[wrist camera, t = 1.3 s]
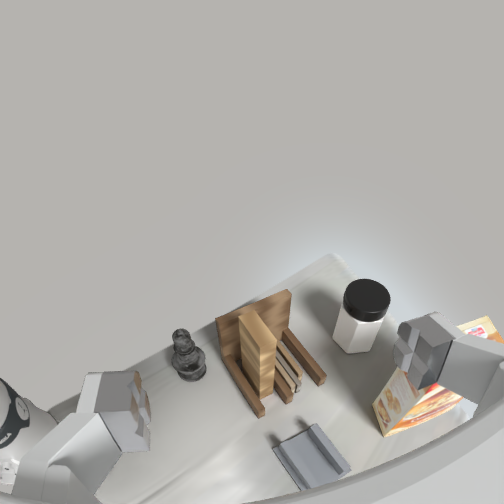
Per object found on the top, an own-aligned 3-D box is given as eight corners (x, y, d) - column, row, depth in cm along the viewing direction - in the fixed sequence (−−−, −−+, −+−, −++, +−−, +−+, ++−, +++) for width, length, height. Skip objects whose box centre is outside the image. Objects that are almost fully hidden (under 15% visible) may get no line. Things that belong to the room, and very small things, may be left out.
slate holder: (307, 498, 35) (310, 495, 33) (272, 449, 42) (273, 443, 40) (350, 470, 38) (356, 466, 36) (315, 425, 45) (319, 418, 43)
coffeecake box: (383, 438, 42) (435, 383, 30) (370, 403, 47) (411, 337, 35) (452, 410, 44) (510, 348, 31) (437, 380, 49) (487, 312, 37)
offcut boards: (289, 396, 50) (291, 387, 48) (260, 354, 57) (260, 344, 55) (305, 387, 51) (308, 378, 49) (275, 347, 58) (276, 336, 56)
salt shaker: (186, 351, 57) (174, 309, 50) (213, 363, 55) (205, 322, 48) (169, 374, 53) (152, 335, 46) (197, 388, 51) (184, 350, 44)
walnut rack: (258, 418, 47) (258, 386, 39) (222, 359, 56) (215, 318, 48) (323, 383, 51) (336, 344, 44) (283, 332, 61) (286, 288, 53)
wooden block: (259, 399, 50) (259, 347, 40) (242, 373, 54) (238, 316, 44) (272, 393, 50) (276, 339, 40) (255, 367, 55) (254, 309, 45)
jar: (341, 314, 64) (353, 271, 56) (378, 327, 60) (394, 285, 53) (326, 346, 58) (338, 304, 50) (366, 361, 54) (384, 320, 47)
